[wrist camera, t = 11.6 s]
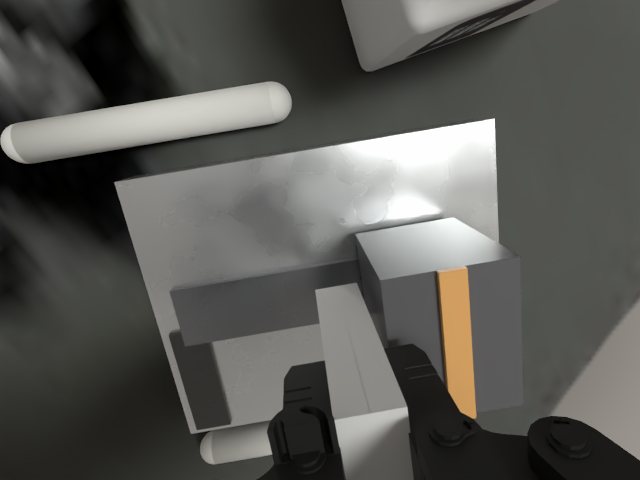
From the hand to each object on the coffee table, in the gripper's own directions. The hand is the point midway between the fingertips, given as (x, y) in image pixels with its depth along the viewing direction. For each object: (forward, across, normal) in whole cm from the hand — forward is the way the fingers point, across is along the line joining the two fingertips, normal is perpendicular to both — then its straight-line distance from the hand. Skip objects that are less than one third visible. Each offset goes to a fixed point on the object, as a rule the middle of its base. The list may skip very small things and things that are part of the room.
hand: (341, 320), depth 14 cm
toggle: (+2, +3, 0) cm, 4 cm away
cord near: (+5, -6, +8) cm, 11 cm away
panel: (+5, 0, 0) cm, 5 cm away
